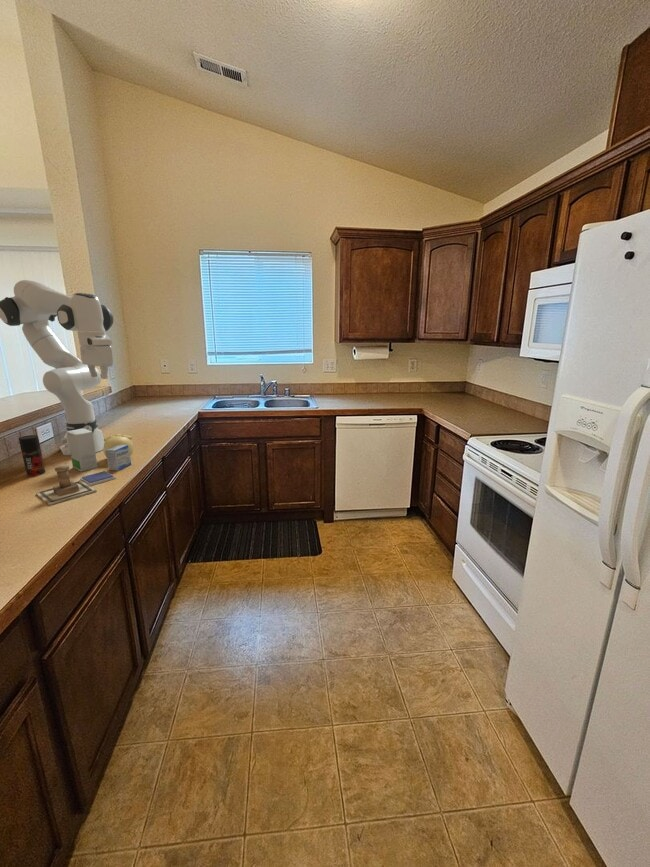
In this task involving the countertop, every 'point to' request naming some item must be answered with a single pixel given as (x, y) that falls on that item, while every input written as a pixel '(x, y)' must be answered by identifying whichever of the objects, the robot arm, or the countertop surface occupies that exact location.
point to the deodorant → (32, 455)
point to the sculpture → (118, 442)
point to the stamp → (64, 482)
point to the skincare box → (82, 449)
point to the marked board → (53, 498)
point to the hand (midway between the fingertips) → (99, 377)
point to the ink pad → (97, 478)
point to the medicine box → (118, 457)
